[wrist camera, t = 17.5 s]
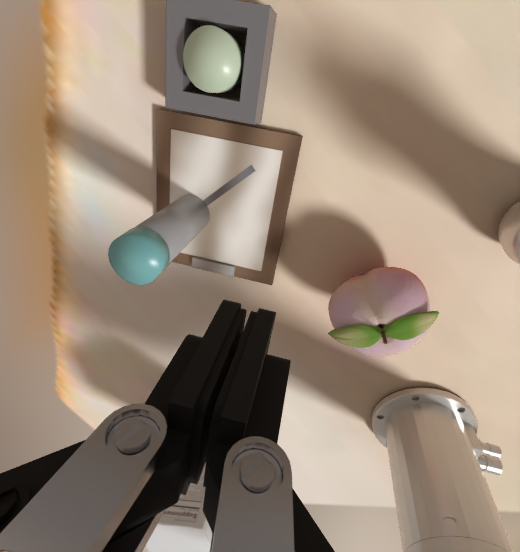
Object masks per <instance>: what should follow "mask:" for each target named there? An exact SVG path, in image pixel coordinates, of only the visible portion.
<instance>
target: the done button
mask: <svg viewBox="0 0 520 552" xmlns="http://www.w3.org/2000/svg"><path fill="white" fill-rule="evenodd" d="M183 62H184V67H185V71H186V73H187V76H188V77H189V79H190V81H191V82H192V83H193V84H194V85H195V86H196V87H197V88H199V89H200V90H202V91H205V92H209V93H225V92H228V91H231V90H232V89H234V88H235V87H236V86H237V85H238V84H239V82H240V81H241V79H242V75H243V66H244V53H243V50H242V47H241V45H240V44H239V42H238V41H237V40H236V39H235V38H234V37H233V36H232V35H231V34H229V33H227V32H226V31H224V30H222V29H220V28H218V27H216V26H212V25H205V26H201V27H199V28H197V29H196V30H194V31H193V32H192V33H191V35H190V36H189V37H188V39H187V41H186V43H185V47H184V51H183Z"/></svg>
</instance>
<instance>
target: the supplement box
mask: <svg viewBox="0 0 520 552" xmlns="http://www.w3.org/2000/svg"><path fill="white" fill-rule="evenodd" d="M205 466H206V462H205V465H204V468H203V471H202V474H201V477H200V479H199V482H198V484H197V485H196V484H193V483H190V486H189V488H188V491H187V494H186V495H182V494H181V495H180V497H179V500H178V502H177V503H176V504H174V505H172V506H171V507H169V508H167V509H165V510H164V512H163V514H162V517H161V519H160V521H159V522H158V524H157V526H156V528H155V530H154V531H153V533H152V535H151V537H150V538H149V540H148V542H147V544H146V548H147V549H148V551H149V552H210V546H211V539H212V531H211V528H210V526H209V524H208V522H207V519H206V517H205V515H204V513H203V503H204V495H205V488H206V487H203V483H204V475H205Z"/></svg>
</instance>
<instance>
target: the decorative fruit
mask: <svg viewBox="0 0 520 552" xmlns="http://www.w3.org/2000/svg"><path fill="white" fill-rule="evenodd" d="M328 309H329V316H330V320H331V322H332V325H333V327H334V330H332V331H330V332H329V333H328V334H329V335H330V336H331V337H333V338H334V339H335V340H337V341H338V342H340V343H342V344H345V345H348V346H350V347H352V348H353V349H355V350H356V351H358V352H360V353H363V354H366V355H370V356H389V355H394V354H397V353H400V352H403V351H405V350H408V349H410V348H411V347H413V346H414V345H416V344H417V343H418V342H419V341H420V340H421V339H422V338H423V336H424V335H425V333H426V331H427V329H428V328H429V327H430V326H431V325H432V324H433V322H434V321H435V319H436V318H437V316H438V314H439V312H437V311H430V305H429V299H428V295H427V292H426V289H425V287H424V285H423V283H422V282H421V280H420V279H419V278H418V277H417V276H416V275H415V274H413V273H411V272H410V271H408V270H405V269H401V268H396V267H381V268H375V269H372V270H370V271H369V272H367V273H366V274H364V275H357V276H354V277H352V278H350V279H348V280H347V281H346V282H344V283H343V284H342V285H340V286H339V287H338V288H337V289H336V290H335V292H334V293H333V294H332V296H331V299H330V301H329V307H328Z"/></svg>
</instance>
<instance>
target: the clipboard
mask: <svg viewBox="0 0 520 552" xmlns="http://www.w3.org/2000/svg"><path fill="white" fill-rule="evenodd" d="M301 141H302V136H299V135H294V134H289V133H283V132H278V131H273V130H268V129H263V128H257V127H252V126H247V125H242V124H237V123H231V122H226V121H221V120H216V119H210V118H205V117H200V116H195V115H190V114H184V113H179V112H174V111H169V110H164V109H157V212H159V211H160V210H162V209H163V208H165V207H166V206H168V205H169V204H171V203H172V202H174V201H175V200H177V199H179V198H180V197H182V196H184V195H195V196H197V197H199V198H201V199H202V200H203V201H204V202H205V203H206V205H207V207H208V209H209V213H210V218H209V222H208V224H207V225H206V227H205V228H204V229H203V230H202V231H201V232H200V233H199V234H198V235H197V236H196V237H195V238H194V239H193V240H192V241H191V242H190V243H189V244H188V245H187V246H186V247H185V248H184V249H183V250H182V251H181V252H180V253H179V254H178V255H177V256H176V257H175V258H174V259H173V260H172V262H176V263H180V264H184V265H189V266H192V267H194V268H198V269H202V270H207V271H211V272H215V273H219V274H223V275H228V276H232V277H233V276H235V277H239V278H244V279H248V280H252V281H256V282H261V283H265V284H269V285H272V283H273V279H274V274H275V269H276V264H277V259H278V254H279V249H280V244H281V240H282V235H283V230H284V225H285V220H286V215H287V210H288V205H289V200H290V195H291V190H292V185H293V181H294V176H295V171H296V166H297V161H298V156H299V151H300V146H301Z"/></svg>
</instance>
